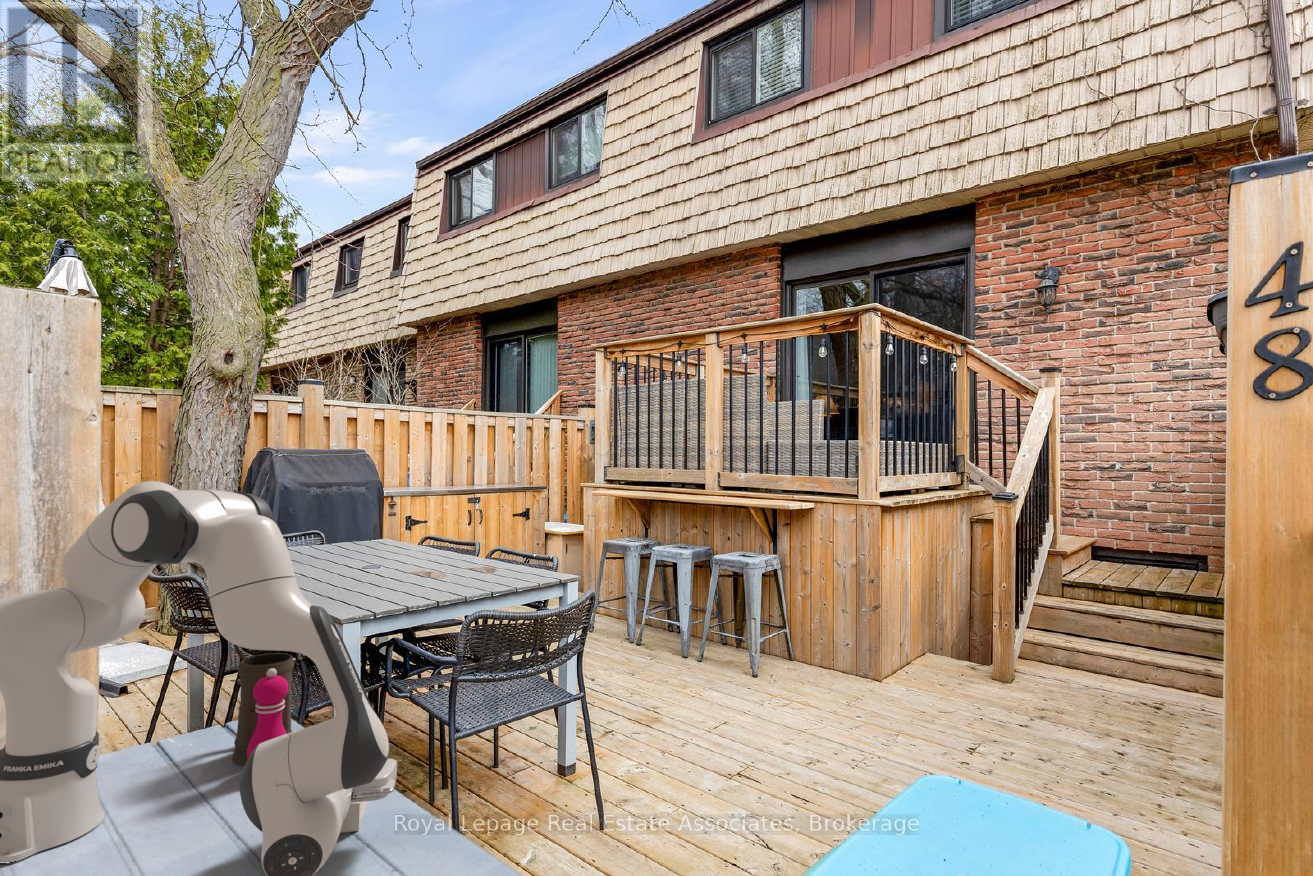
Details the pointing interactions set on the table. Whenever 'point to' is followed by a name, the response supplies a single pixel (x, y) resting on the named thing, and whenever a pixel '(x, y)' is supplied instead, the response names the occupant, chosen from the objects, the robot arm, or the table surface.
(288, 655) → the beer stein
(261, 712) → the pepper mill
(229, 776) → the table surface
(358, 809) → the socket block
